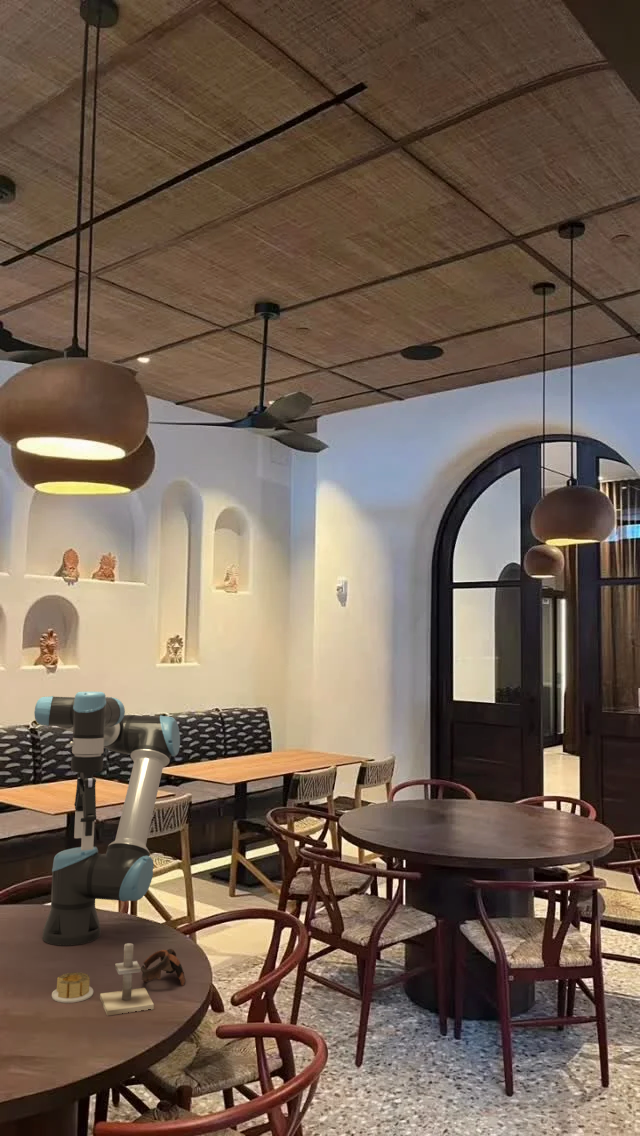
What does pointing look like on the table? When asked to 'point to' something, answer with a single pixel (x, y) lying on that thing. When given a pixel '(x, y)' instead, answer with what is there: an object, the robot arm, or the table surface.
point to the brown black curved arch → (162, 966)
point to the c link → (73, 985)
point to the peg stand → (126, 989)
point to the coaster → (71, 1000)
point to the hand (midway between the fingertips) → (83, 843)
